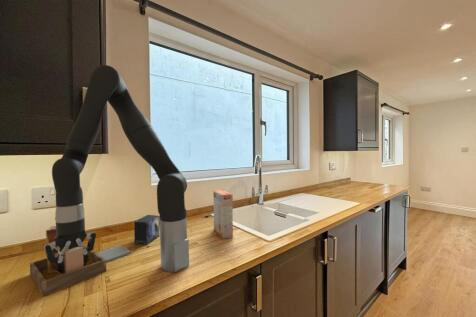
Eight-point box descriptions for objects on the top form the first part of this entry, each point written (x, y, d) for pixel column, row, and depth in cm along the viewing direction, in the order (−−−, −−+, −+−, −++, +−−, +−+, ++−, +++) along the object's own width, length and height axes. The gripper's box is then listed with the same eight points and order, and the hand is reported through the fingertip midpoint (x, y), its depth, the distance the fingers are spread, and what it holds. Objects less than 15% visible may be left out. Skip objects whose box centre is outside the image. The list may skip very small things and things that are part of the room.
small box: (146, 245, 96) (146, 222, 96) (133, 244, 97) (133, 221, 97) (160, 236, 106) (159, 215, 106) (148, 235, 108) (147, 214, 107)
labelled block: (84, 277, 72) (82, 247, 72) (67, 284, 69) (66, 252, 68) (78, 271, 76) (76, 242, 76) (61, 277, 72) (60, 247, 72)
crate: (106, 271, 76) (105, 259, 76) (43, 296, 63) (42, 283, 63) (87, 255, 87) (86, 245, 87) (30, 274, 74) (29, 262, 74)
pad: (131, 253, 89) (131, 251, 89) (98, 265, 80) (98, 263, 80) (120, 246, 95) (120, 244, 95) (88, 257, 86) (88, 255, 86)
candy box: (46, 274, 74) (44, 230, 74) (52, 268, 78) (51, 226, 78) (78, 269, 77) (76, 226, 77) (82, 263, 81) (80, 223, 81)
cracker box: (233, 237, 104) (233, 193, 103) (221, 239, 101) (220, 195, 101) (224, 228, 117) (223, 189, 116) (213, 229, 114) (212, 190, 114)
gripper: (44, 226, 64) (47, 283, 64) (99, 214, 75) (101, 263, 76) (38, 221, 68) (41, 274, 69) (91, 211, 80) (93, 257, 80)
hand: (72, 268), depth 72 cm, fingers open, 5 cm apart
